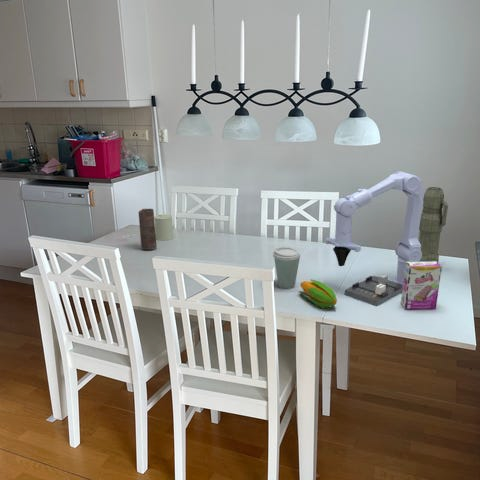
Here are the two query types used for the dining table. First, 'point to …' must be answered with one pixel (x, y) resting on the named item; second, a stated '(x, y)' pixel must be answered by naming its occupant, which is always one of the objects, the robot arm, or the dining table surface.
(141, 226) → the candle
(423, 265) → the candy bar box
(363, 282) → the console
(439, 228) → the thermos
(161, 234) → the can
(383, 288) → the fader tab
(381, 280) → the fader
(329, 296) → the corn
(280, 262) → the disposable coffee cup
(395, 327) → the dining table surface
